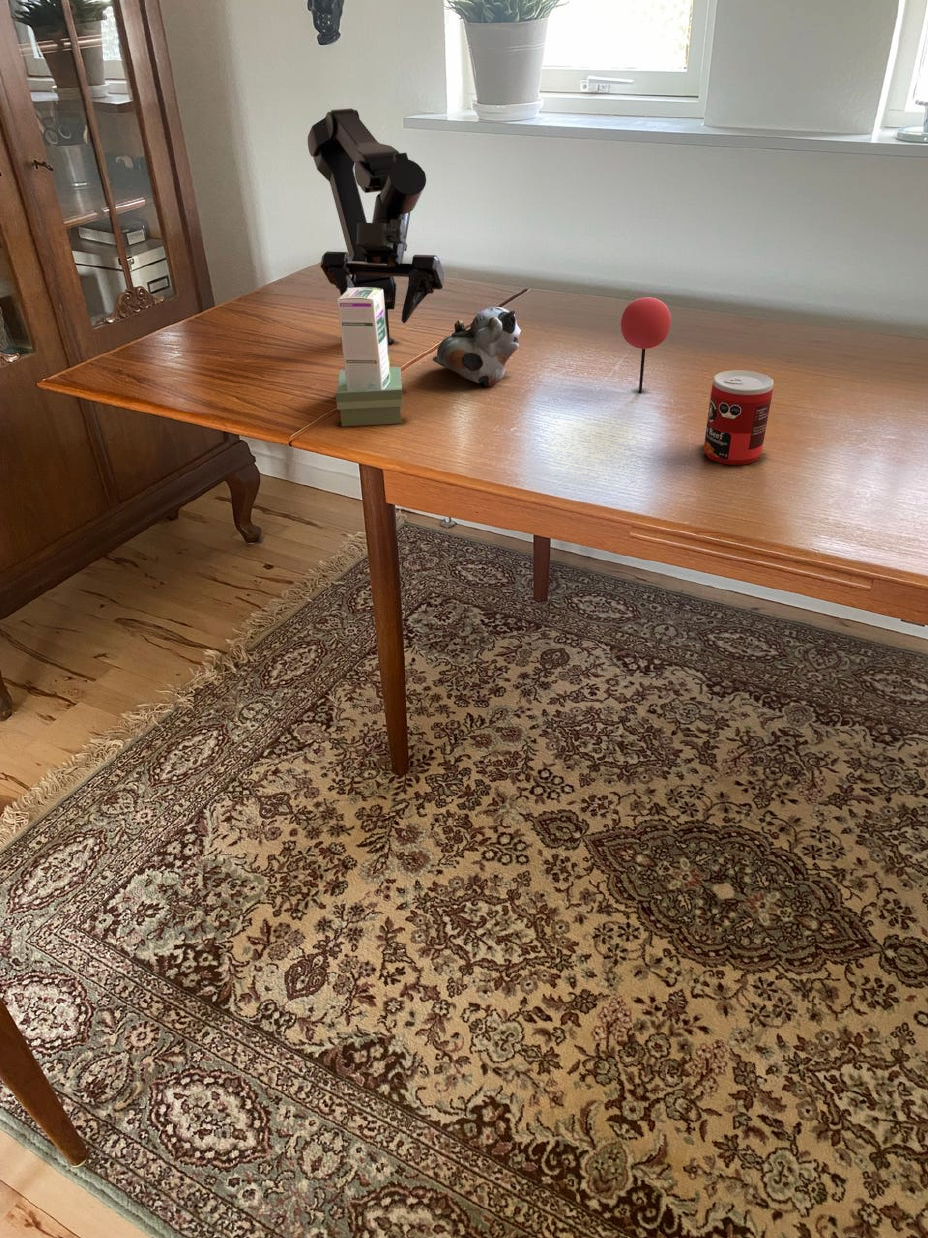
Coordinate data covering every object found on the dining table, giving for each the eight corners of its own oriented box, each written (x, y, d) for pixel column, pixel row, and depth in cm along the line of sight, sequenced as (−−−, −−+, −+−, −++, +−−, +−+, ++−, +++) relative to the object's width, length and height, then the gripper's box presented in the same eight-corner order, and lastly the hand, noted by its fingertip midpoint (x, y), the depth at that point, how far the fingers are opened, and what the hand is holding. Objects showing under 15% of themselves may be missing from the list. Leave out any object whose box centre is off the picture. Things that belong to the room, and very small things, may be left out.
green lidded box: (401, 389, 154) (399, 357, 150) (404, 423, 142) (402, 389, 139) (341, 392, 153) (338, 360, 150) (339, 427, 142) (335, 392, 138)
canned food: (696, 444, 134) (706, 370, 128) (750, 441, 134) (762, 367, 128) (712, 467, 128) (723, 391, 121) (768, 464, 128) (782, 388, 122)
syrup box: (382, 394, 142) (375, 298, 133) (345, 392, 142) (336, 297, 134) (391, 380, 146) (385, 287, 138) (355, 379, 147) (346, 285, 139)
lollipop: (666, 385, 153) (676, 292, 144) (659, 402, 147) (669, 307, 138) (620, 380, 155) (628, 289, 146) (611, 397, 149) (618, 303, 140)
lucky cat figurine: (442, 359, 165) (476, 285, 159) (501, 391, 164) (537, 317, 159) (421, 364, 151) (458, 282, 146) (486, 398, 150) (525, 318, 145)
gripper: (317, 195, 140) (300, 291, 137) (437, 198, 136) (422, 296, 134) (339, 237, 151) (324, 327, 148) (450, 241, 147) (436, 332, 145)
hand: (374, 320), depth 143 cm, fingers open, 9 cm apart
